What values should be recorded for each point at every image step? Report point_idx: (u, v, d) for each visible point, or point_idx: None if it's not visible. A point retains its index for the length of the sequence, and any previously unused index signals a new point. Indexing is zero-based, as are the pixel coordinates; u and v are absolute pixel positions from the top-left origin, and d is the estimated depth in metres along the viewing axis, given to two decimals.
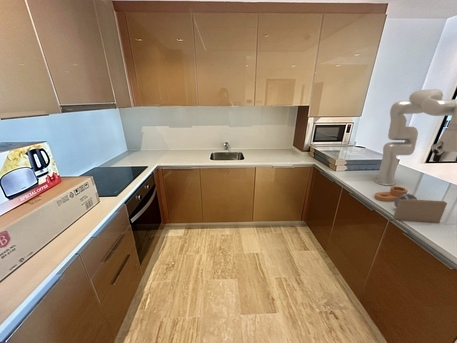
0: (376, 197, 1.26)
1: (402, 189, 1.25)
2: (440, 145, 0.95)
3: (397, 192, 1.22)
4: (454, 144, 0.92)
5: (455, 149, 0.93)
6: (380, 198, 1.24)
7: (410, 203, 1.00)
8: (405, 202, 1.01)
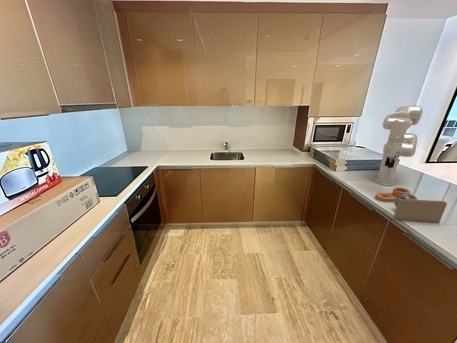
0: (376, 197, 1.26)
1: (405, 191, 1.23)
2: None
3: (398, 193, 1.21)
4: None
5: None
6: (380, 198, 1.24)
7: (410, 203, 1.00)
8: (405, 202, 1.01)
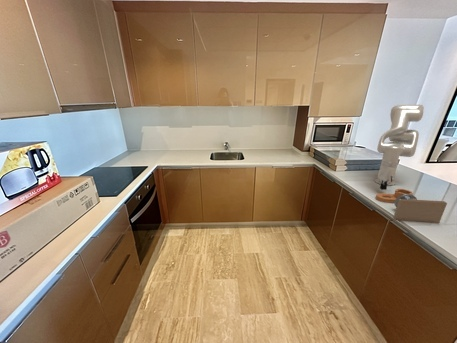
0: (376, 197, 1.26)
1: (408, 192, 1.21)
2: None
3: (400, 194, 1.20)
4: None
5: None
6: (379, 198, 1.24)
7: (410, 203, 1.00)
8: (405, 202, 1.01)
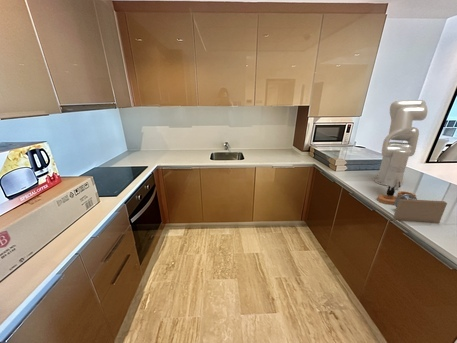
0: (377, 198, 1.25)
1: None
2: None
3: None
4: None
5: None
6: (380, 199, 1.22)
7: (410, 203, 1.00)
8: (405, 202, 1.01)
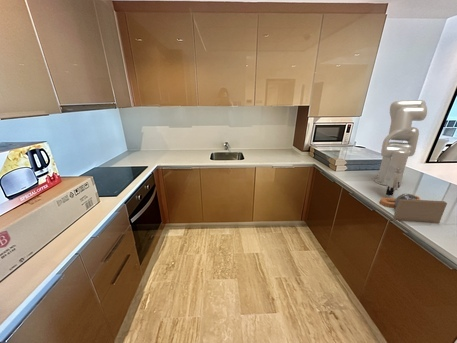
0: (380, 201, 1.21)
1: None
2: None
3: None
4: None
5: None
6: (383, 203, 1.19)
7: (410, 203, 1.00)
8: (405, 202, 1.01)
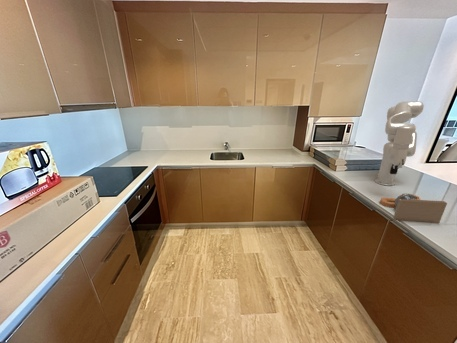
0: (380, 201, 1.21)
1: None
2: None
3: None
4: None
5: None
6: (383, 203, 1.19)
7: (410, 203, 1.00)
8: (405, 202, 1.01)
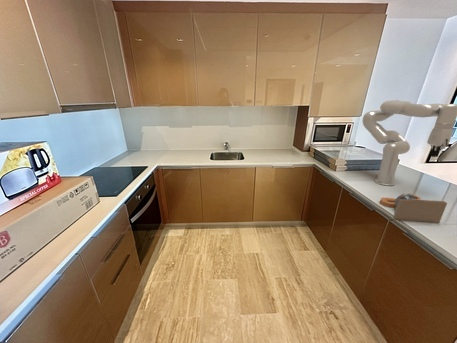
0: (380, 201, 1.21)
1: None
2: None
3: None
4: None
5: None
6: (383, 203, 1.19)
7: (410, 203, 1.00)
8: (405, 202, 1.01)
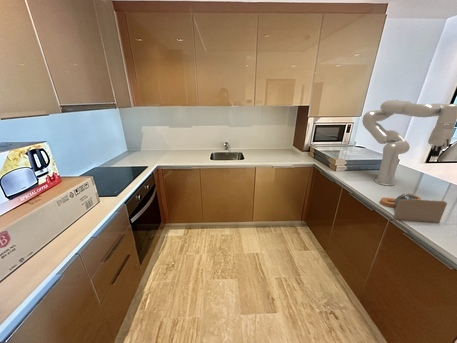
0: (381, 201, 1.21)
1: None
2: None
3: None
4: None
5: None
6: (383, 203, 1.18)
7: (410, 203, 1.00)
8: (405, 202, 1.01)
